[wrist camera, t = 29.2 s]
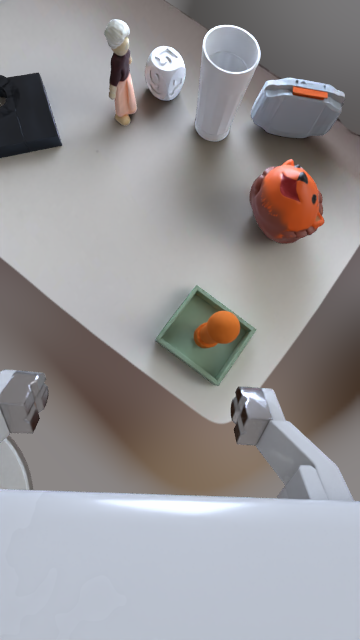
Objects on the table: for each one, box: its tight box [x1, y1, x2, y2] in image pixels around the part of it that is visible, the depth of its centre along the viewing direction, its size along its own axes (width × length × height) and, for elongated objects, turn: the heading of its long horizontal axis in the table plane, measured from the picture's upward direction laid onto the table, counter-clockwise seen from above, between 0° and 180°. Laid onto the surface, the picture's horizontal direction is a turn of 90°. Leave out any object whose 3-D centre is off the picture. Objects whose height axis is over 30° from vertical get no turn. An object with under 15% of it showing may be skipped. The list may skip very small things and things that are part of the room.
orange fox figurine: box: [249, 159, 324, 244], centre depth 41 cm, size 12×10×11 cm
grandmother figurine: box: [104, 20, 137, 126], centre depth 41 cm, size 8×4×13 cm, turn 173°
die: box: [145, 46, 185, 101], centre depth 46 cm, size 5×5×5 cm
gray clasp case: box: [251, 78, 345, 138], centre depth 46 cm, size 14×3×8 cm, turn 86°
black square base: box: [0, 73, 62, 158], centre depth 44 cm, size 12×13×2 cm
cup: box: [195, 25, 260, 141], centre depth 43 cm, size 8×8×12 cm
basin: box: [155, 285, 256, 386], centre depth 41 cm, size 11×10×2 cm
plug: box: [194, 311, 240, 348], centre depth 36 cm, size 4×4×12 cm
